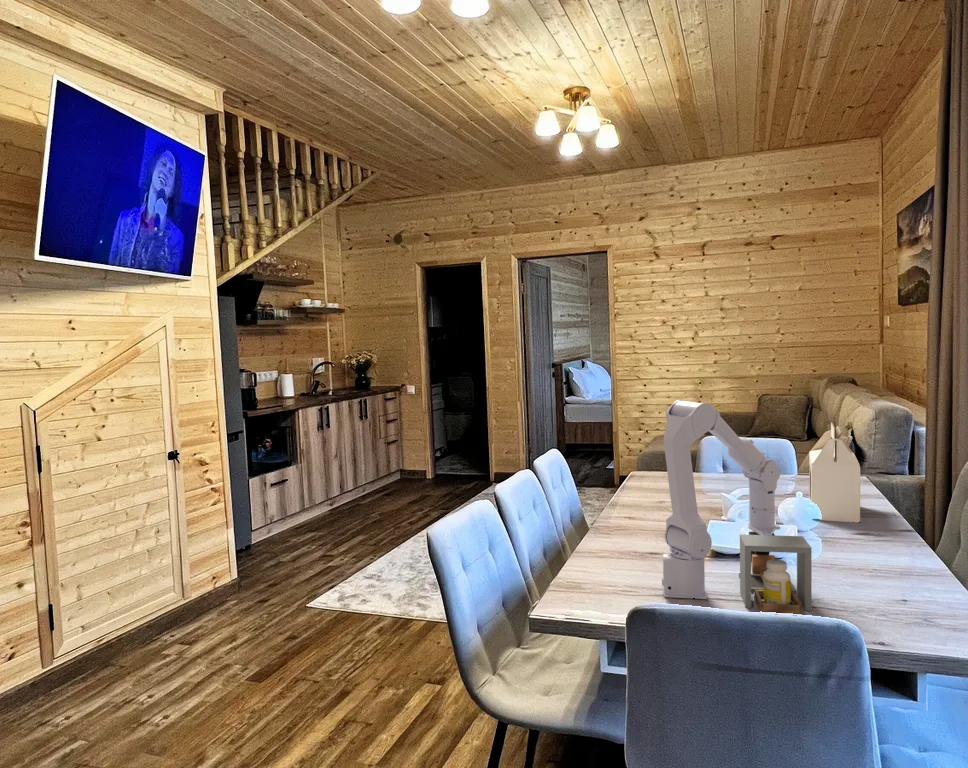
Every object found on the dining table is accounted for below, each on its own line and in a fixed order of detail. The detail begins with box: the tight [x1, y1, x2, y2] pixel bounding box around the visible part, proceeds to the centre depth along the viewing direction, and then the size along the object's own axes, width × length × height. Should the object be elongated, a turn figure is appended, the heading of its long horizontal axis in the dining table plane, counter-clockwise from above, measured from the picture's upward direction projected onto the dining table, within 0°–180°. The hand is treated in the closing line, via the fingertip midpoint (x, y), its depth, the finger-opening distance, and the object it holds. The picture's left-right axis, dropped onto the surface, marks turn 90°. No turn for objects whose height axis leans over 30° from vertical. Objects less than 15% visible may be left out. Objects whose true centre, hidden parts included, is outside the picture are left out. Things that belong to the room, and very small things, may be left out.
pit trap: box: [738, 572, 797, 595], centre depth 160 cm, size 11×10×1 cm
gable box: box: [808, 421, 861, 524], centre depth 216 cm, size 22×13×28 cm, turn 156°
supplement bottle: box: [763, 558, 792, 605], centre depth 147 cm, size 5×5×10 cm
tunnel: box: [739, 533, 813, 612], centre depth 150 cm, size 13×8×14 cm, turn 77°
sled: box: [751, 553, 804, 614], centre depth 153 cm, size 8×22×5 cm, turn 167°
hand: (762, 562), depth 165 cm, fingers closed
